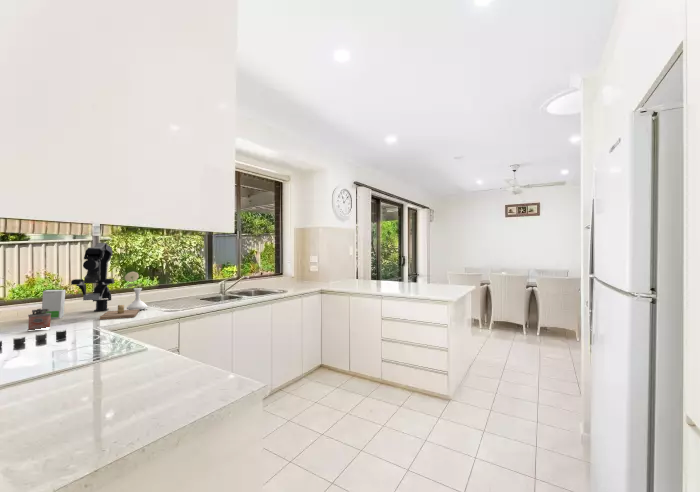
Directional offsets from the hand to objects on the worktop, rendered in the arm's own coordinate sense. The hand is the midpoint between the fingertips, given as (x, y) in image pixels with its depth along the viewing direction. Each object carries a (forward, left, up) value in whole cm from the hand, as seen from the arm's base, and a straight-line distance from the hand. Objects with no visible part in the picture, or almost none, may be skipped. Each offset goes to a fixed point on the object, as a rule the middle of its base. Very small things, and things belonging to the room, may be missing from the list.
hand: (92, 296), depth 182 cm
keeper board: (+2, +14, -12) cm, 18 cm away
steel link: (0, 0, -2) cm, 2 cm away
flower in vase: (-17, +19, -12) cm, 28 cm away
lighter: (+30, -13, -12) cm, 35 cm away
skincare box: (-4, -18, -12) cm, 22 cm away
